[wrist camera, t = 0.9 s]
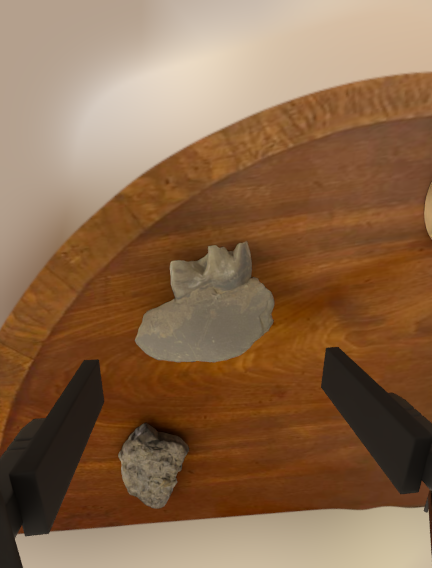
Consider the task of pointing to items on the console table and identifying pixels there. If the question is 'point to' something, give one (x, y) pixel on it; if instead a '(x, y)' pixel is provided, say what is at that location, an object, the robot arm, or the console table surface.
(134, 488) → the stone
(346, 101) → the console table surface
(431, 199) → the maple disc
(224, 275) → the fossil
